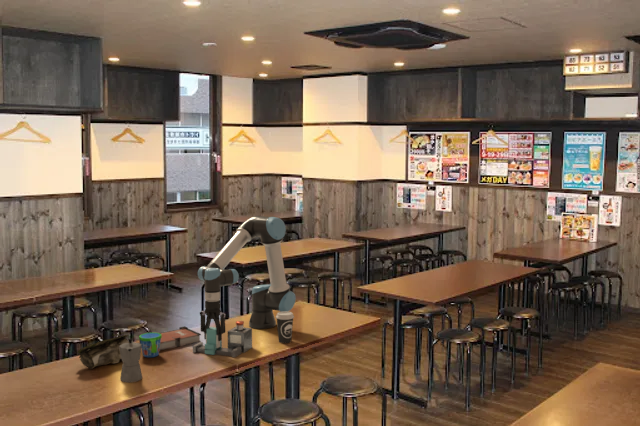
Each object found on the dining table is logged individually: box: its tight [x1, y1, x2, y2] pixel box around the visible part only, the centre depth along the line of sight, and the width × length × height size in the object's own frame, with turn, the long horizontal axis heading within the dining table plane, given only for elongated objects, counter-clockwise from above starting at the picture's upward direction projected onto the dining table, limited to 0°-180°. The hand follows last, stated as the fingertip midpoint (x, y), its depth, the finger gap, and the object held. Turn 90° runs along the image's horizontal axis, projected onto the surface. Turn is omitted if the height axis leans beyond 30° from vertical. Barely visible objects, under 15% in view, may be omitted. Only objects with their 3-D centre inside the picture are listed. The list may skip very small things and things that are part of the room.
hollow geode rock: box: [75, 334, 130, 370], centre depth 302 cm, size 28×13×15 cm
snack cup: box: [138, 332, 162, 358], centre depth 315 cm, size 16×10×10 cm
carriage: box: [204, 326, 223, 356], centre depth 320 cm, size 8×5×12 cm, turn 160°
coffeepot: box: [119, 338, 143, 384], centre depth 283 cm, size 15×9×18 cm, turn 13°
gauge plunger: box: [235, 320, 245, 331], centre depth 324 cm, size 4×4×6 cm
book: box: [138, 326, 202, 352], centre depth 336 cm, size 26×18×5 cm
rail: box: [192, 341, 242, 358], centre depth 320 cm, size 7×23×3 cm, turn 70°
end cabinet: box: [227, 326, 253, 354], centre depth 325 cm, size 9×9×10 cm
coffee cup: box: [275, 311, 295, 344], centre depth 338 cm, size 10×10×15 cm
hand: (213, 346), depth 320 cm, fingers closed on carriage, 5 cm apart
